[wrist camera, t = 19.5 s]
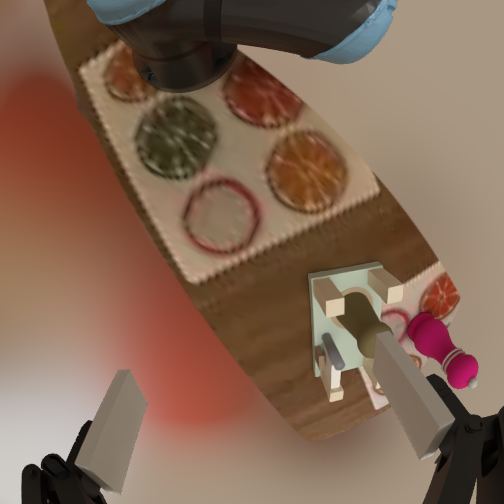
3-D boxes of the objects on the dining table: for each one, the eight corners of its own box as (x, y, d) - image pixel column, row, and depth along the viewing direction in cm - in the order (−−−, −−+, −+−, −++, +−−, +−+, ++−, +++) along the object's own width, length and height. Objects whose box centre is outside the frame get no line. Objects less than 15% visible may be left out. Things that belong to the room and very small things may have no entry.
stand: (308, 273, 42) (326, 303, 33) (377, 261, 42) (408, 285, 33) (313, 370, 48) (325, 407, 39) (371, 356, 48) (391, 389, 39)
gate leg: (320, 343, 44) (331, 370, 37) (332, 341, 44) (345, 366, 37) (320, 375, 46) (329, 402, 40) (332, 373, 46) (342, 399, 40)
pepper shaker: (348, 286, 41) (378, 322, 30) (375, 299, 42) (407, 335, 31) (327, 317, 42) (350, 359, 32) (355, 329, 43) (381, 369, 33)
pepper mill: (399, 340, 48) (451, 406, 28) (413, 308, 46) (475, 369, 26) (424, 340, 48) (475, 399, 29) (438, 310, 46) (497, 365, 27)
